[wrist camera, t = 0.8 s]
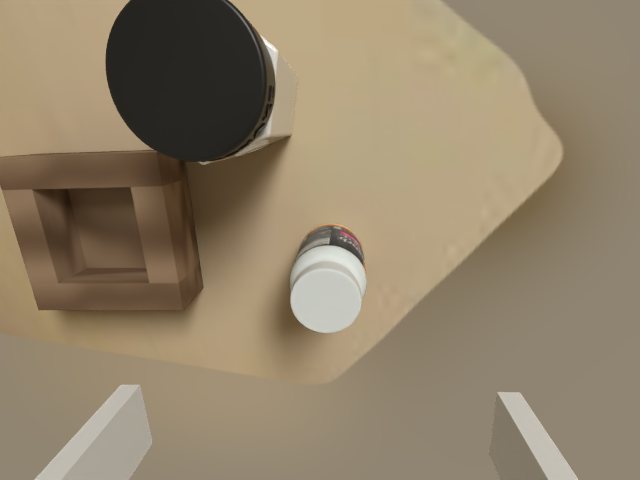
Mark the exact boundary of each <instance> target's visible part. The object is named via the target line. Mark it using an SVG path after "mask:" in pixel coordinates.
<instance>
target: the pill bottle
mask: <svg viewBox="0 0 640 480" xmlns="http://www.w3.org/2000/svg"><path fill="white" fill-rule="evenodd" d="M366 286H367V278H366V270H365V263H364V255H363V249H362V245H361V242H360V240H359V239H358V237H357V236H356V234H355V233H354V232H353V231H351V230H350V229H349V228H347V227H345V226H342V225H339V224H324V225H321V226H318V227H316V228H315V229H313V230H312V231H311V232H309V233H308V235H307V236H306V237H305V239H304V240H303V242H302V244H301V247H300V249H299V252H298V255H297V257H296V259H295V262H294V265H293V268H292V270H291V274H290V289H291V295H290V304H291V308H292V311H293V313H294V315H295V317H296V318H297V320H298V321H299V322H300V323H301V324H303V325H304V326H305V327H307V328H308V329H310V330H313V331H316V332H320V333H333V332H338V331H341V330H343V329H345V328H347V327H348V326H350V325H351V324H352V323H353V322H354V320H355V319H356V318H357V316H358V314H359V312H360V309H361V303H362V299H363V297H364V294H365V291H366Z"/></svg>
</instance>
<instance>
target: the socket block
mask: <svg viewBox="0 0 640 480" xmlns="http://www.w3.org/2000/svg"><path fill="white" fill-rule="evenodd" d="M0 185H1V188H2V192H3V195H4V198H5V202H6V205H7V208H8V211H9V215H10V218H11V221H12V224H13V228H14V231H15V234H16V237H17V241H18V244H19V247H20V251H21V254H22V257H23V260H24V264H25V267H26V270H27V273H28V277H29V280H30V283H31V287H32V290H33V293H34V296H35V300H36V303H37V306H38V309H39V310H184V309H185V307H186V306H187V305H188V304H189V303H190V302H191V301H192V300H193V298H194V297H195V296H196V295H197V294H198V293H199V292H200V291H201V289H202V288H203V282H202V275H201V268H200V261H199V254H198V247H197V240H196V234H195V227H194V220H193V213H192V206H191V199H190V192H189V185H188V179H187V172H186V165H185V161H182V160H178V159H174V158H171V157H168V156H165V155H163V154H161V153H159V152H157V151H155V150H142V151H111V152H80V153H49V154H31V155H18V156H5V157H0Z"/></svg>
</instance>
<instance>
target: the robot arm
mask: <svg viewBox="0 0 640 480" xmlns="http://www.w3.org/2000/svg"><path fill="white" fill-rule="evenodd" d="M152 443H153V442H152V437H151V433H150V428H149V424H148V419H147V415H146V410H145V406H144V401H143V397H142V392H141V387H140V385H120V386H119V387H118V389H117V390H116V391H115V392H114V393H113V394H112V395H111V396H110V397H109V398H108V400H107V401H106V402H105V403H104V404H103V405H102V406H101V407H100V408H99V409H98V411H97V412H96V413H95V414H94V415H93V416H92V417H91V418H90V419H89V420H88V422H87V423H86V424H85V425H84V426H83V427H82V428H81V429H80V430H79V432H78V433H77V434H76V435H75V436H74V437H73V438H72V439H71V440H70V441H69V442H68V443H67V445H66V446H65V447H64V448H63V449H62V450H61V451H60V452H59V453H58V454H57V455H56V457H55V458H54V459H53V460H52V461H51V462H50V463H49V465H47V466H46V468H45V469H44V470H43V471H42V472H41V473H40V474H39V475H38V476H37V477H36V479H35V480H129V479H130V477H131V475H132V474H133V473H134V471H135V469H136V468H137V466H138V465H139V463H140V462H141V460H142V458H143V457H144V455H145V454H146V452H147V451H148V449H149V447H150V446H151V444H152ZM489 454H490V456H491V459H492V461H493V463H494V465H495V467H496V470H497V472H498V474H499V476H500V479H501V480H578V478H577V477H576V475H575V474H574V472H573V471H572V469H571V468H570V466H569V465H568V463H567V462H566V460H565V459H564V457H563V456H562V454H561V453H560V451H559V450H558V449H557V447H556V445H555V444H554V443H553V441H552V440H551V438H550V437H549V435H548V434H547V432H546V431H545V429H544V428H543V427H542V425H541V423H540V422H539V420H538V419H537V417H536V416H535V414H534V413H533V412H532V410H531V408H530V407H529V405H528V404H527V402H526V401H525V399H524V398H523V396H522V395H521V393H518V392H513V393H512V392H497V397H496V405H495V414H494V421H493V429H492V437H491V445H490V453H489Z"/></svg>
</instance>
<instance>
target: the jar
mask: <svg viewBox="0 0 640 480" xmlns="http://www.w3.org/2000/svg"><path fill="white" fill-rule="evenodd" d="M106 75H107V81H108V86H109V90H110V93H111V96H112V99H113V101H114V104H115V106H116V108H117V110H118V112H119V114H120V115H121V117H122V119H123V120H124V122H125V123H126V124H127V126H128V127H129V128H130V129H131V131H132V132H133V133H134V134H135V135H136V136H137V137H138V138H139V139H140V140H141V141H143V142H144V143H145V144H146V145H148V146H149V147H150V148H152V149H154V150H155V151H157V152H159V153H161V154H163V155H165V156H168V157H171V158H174V159H178V160H182V161H190V162H199V163H200V164H202V165H206V164H210V163H214V162H218V161H222V160H226V159H230V158H234V157H238V156H242V155H246V154H248V153H251V152H254V151H256V150H259V149H261V148H263V147H265V146H267V145H269V144H271V143H274V142H276V141H279V140H281V139H283V138H286V137H288V136H290V135H291V134H292V129H293V120H294V111H295V102H296V93H297V85H298V75H297V73H296V72H295V71H294V70H293V68H292V67H291V66H290V65H289V63H288V62H287V61H286V60H285V59H284V57H283V56H282V55H281V54H280V52H279V51H278V50H277V49H276V48H275V47H274V46H273V45H272V44H271V43H269V42H268V41H267V40H266V39H265V38H263V37H262V36H261V35H260V34H259V33H258V32H257V31H256V29H255V28H254V27H253V26H252V24H251V23H250V22H249V21H248V20H247V19H246V18H245V16H244V15H243V14H242V13H241V12H240V11H239V10H238V9H237V8H236V7H235V6H234V5H233V4H232V3H231V2H230V1H228V0H130V1H129V2H128V3H127V4H126V5H125V7H124V8H123V9H122V11H121V12H120V13H119V15H118V17H117V18H116V20H115V22H114V24H113V26H112V29H111V32H110V35H109V39H108V43H107V49H106Z"/></svg>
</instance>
